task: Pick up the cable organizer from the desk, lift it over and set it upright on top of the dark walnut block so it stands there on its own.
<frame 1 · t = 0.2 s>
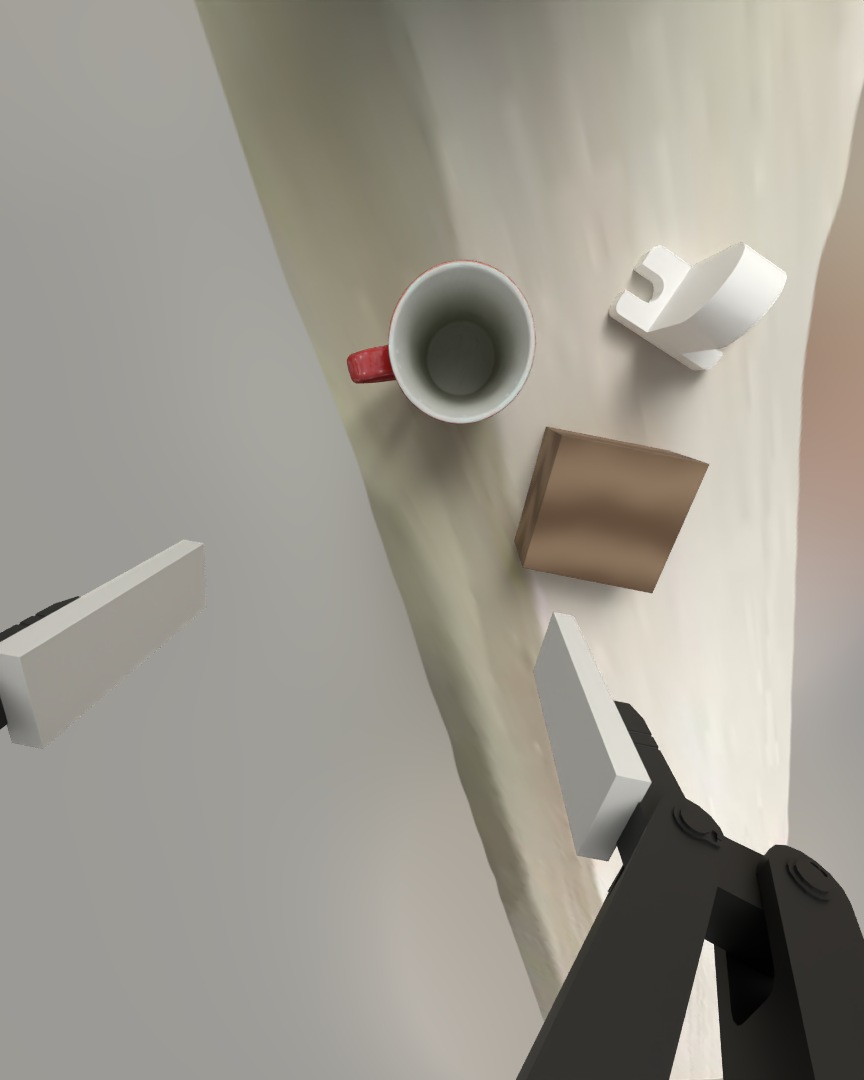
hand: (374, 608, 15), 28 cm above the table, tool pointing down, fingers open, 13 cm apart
walnut block: (587, 497, 41), on the table
cable organizer: (671, 314, 35), on the table
mug: (442, 361, 37), on the table
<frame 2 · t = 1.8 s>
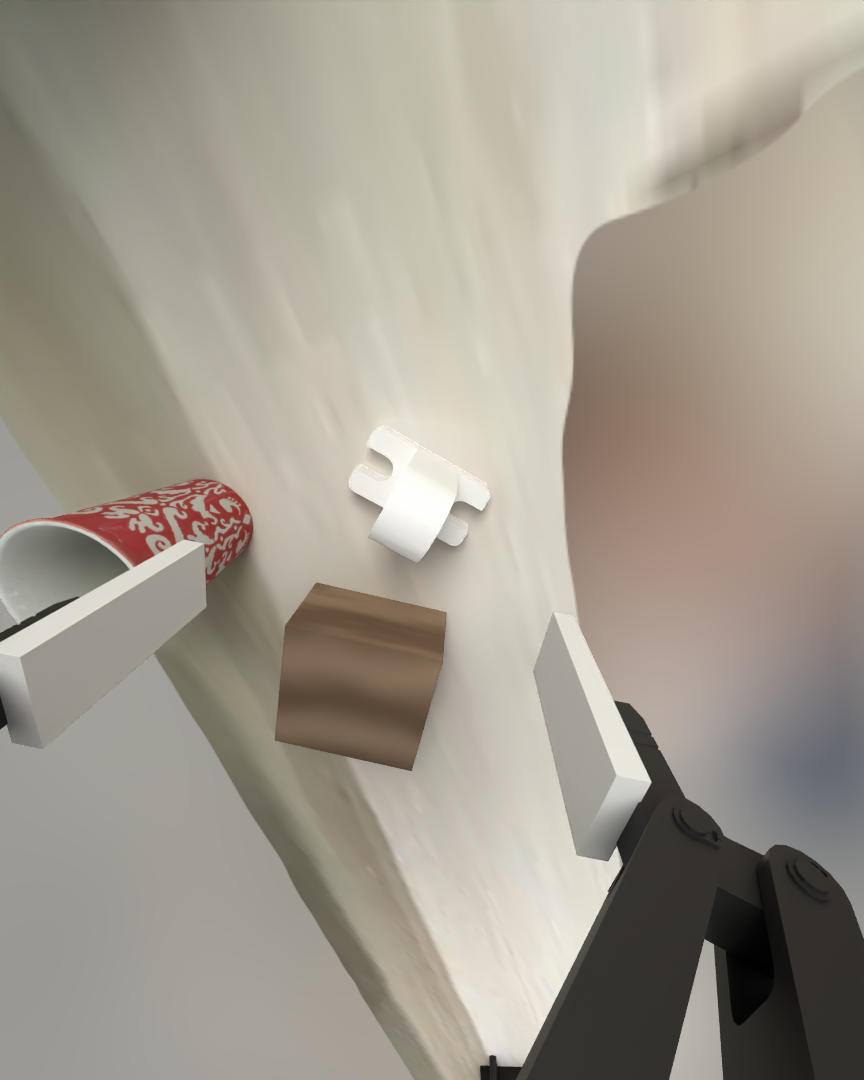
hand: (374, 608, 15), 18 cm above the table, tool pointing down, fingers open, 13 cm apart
walnut block: (371, 649, 39), on the table
cable organizer: (421, 483, 32), on the table
mug: (195, 519, 35), on the table
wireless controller: (513, 1076, 72), on the table
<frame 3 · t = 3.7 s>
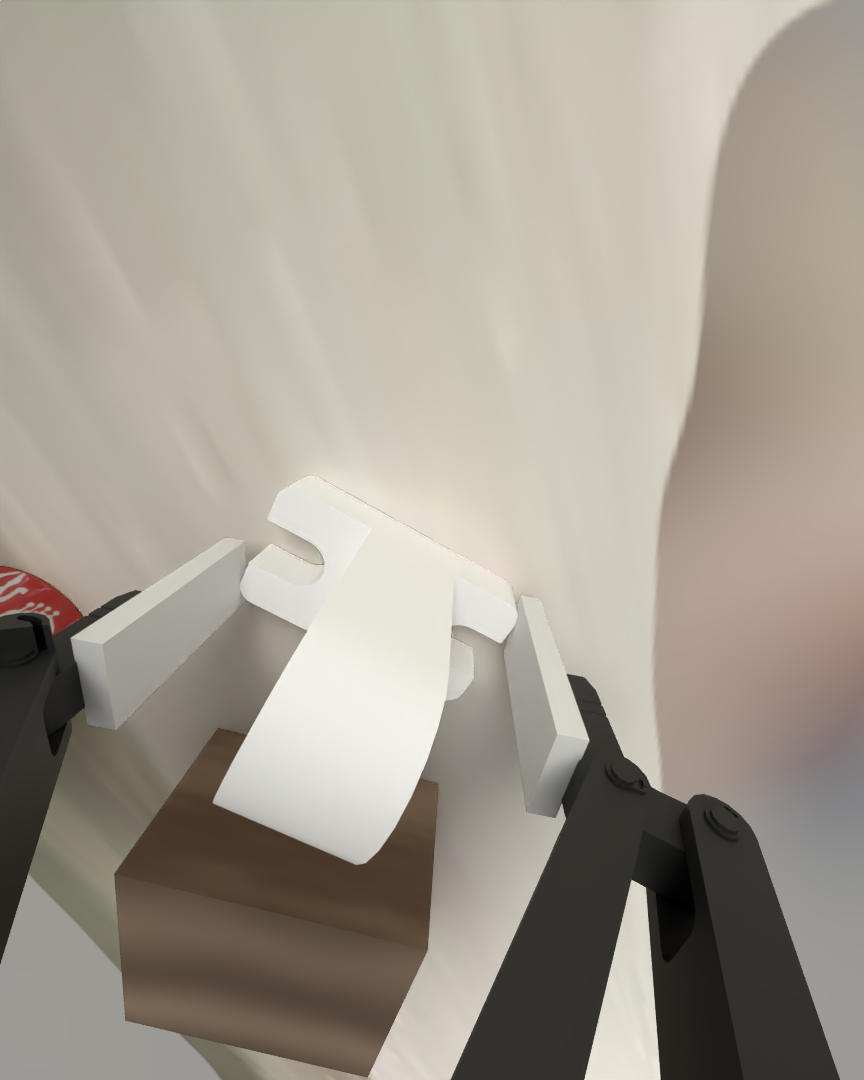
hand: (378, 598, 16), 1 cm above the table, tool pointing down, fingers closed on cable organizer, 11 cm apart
walnut block: (314, 823, 24), on the table
cable organizer: (386, 578, 17), on the table, touching gripper
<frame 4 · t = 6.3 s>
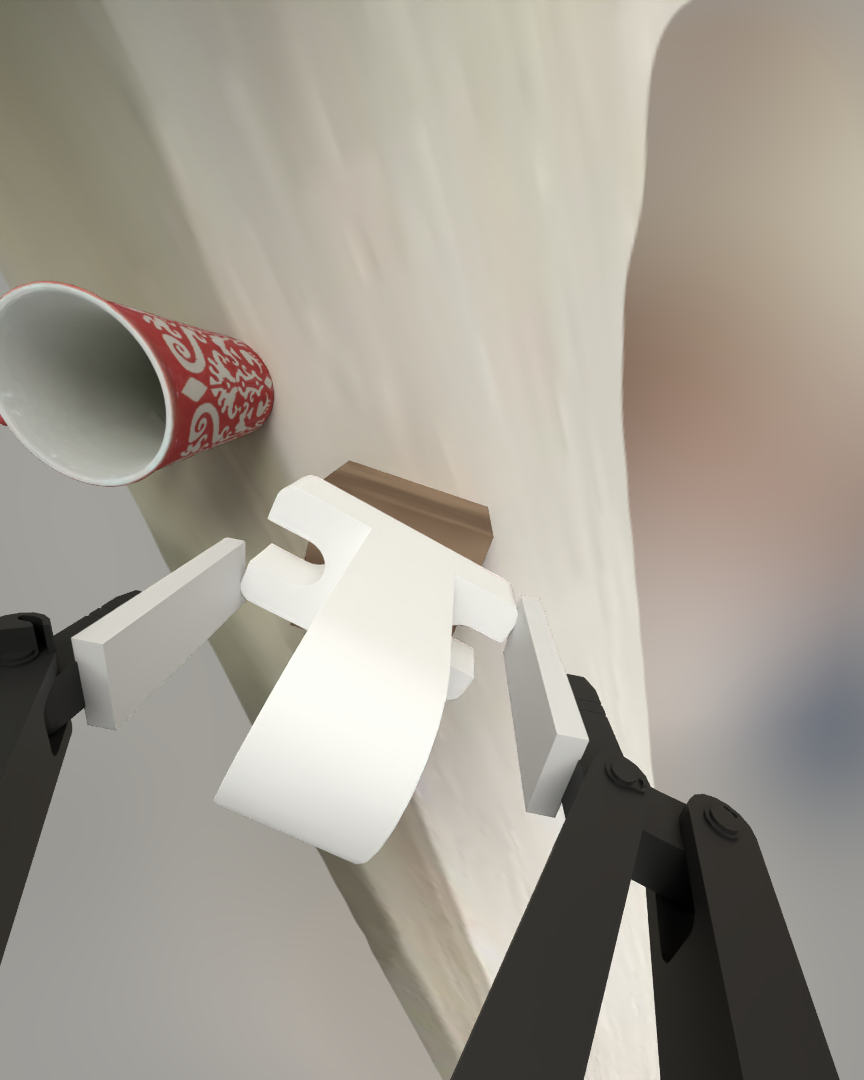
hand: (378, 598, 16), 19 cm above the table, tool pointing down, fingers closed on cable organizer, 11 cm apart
walnut block: (399, 546, 36), on the table
cable organizer: (386, 577, 17), point 17 cm above the table, touching gripper
mug: (210, 388, 32), on the table
when the fingers open (10 cm above the table, at t = 9.2 s): cable organizer drops 2 cm, resting on walnut block.
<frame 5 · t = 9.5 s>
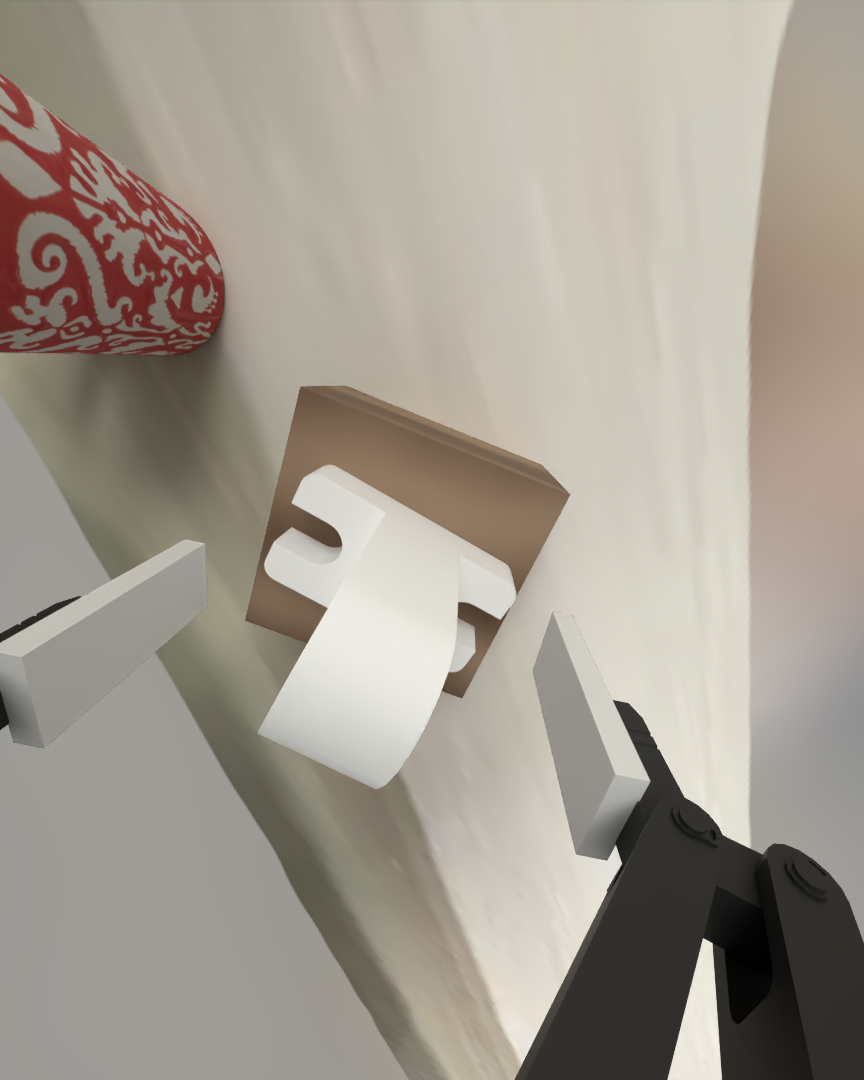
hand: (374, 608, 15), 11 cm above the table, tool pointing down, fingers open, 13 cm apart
walnut block: (410, 517, 25), on the table, touching cable organizer
cable organizer: (396, 560, 19), point 6 cm above the table, touching walnut block
mug: (132, 283, 22), on the table
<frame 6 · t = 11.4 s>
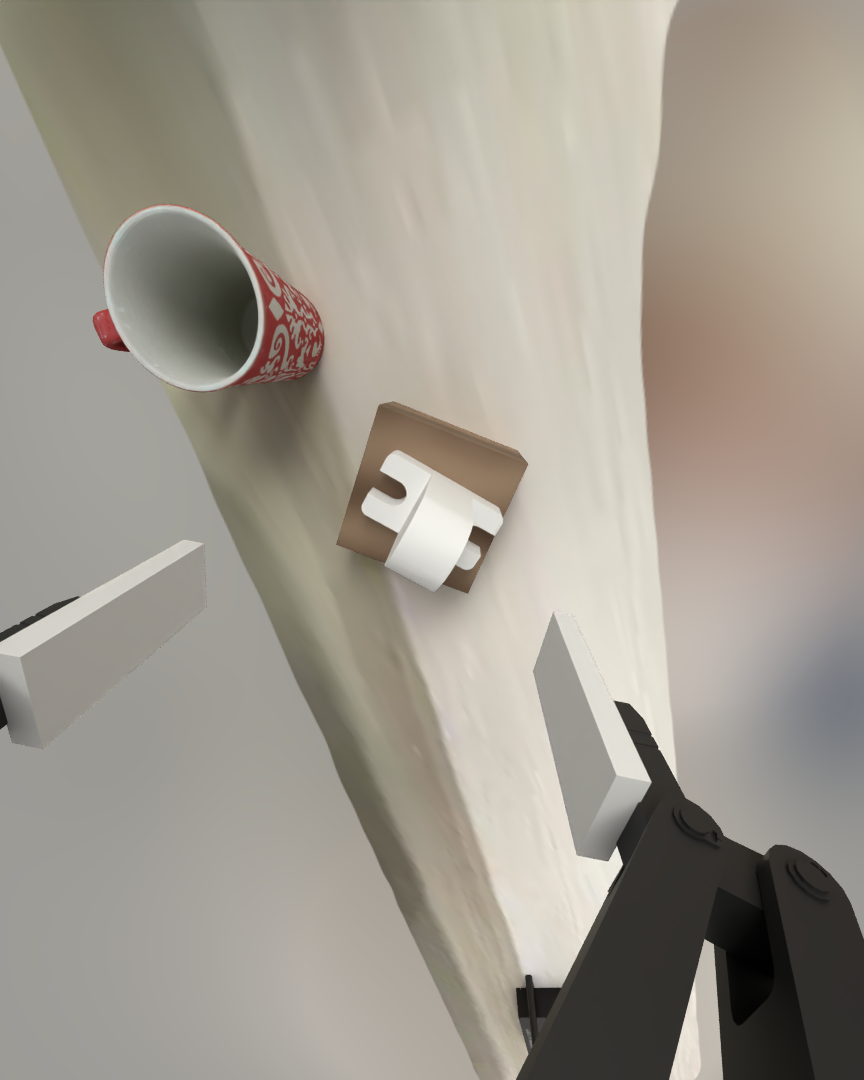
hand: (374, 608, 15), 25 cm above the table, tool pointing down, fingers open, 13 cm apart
walnut block: (433, 486, 39), on the table, touching cable organizer
cable organizer: (433, 506, 32), point 6 cm above the table, touching walnut block
mug: (266, 336, 35), on the table
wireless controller: (550, 1001, 70), on the table
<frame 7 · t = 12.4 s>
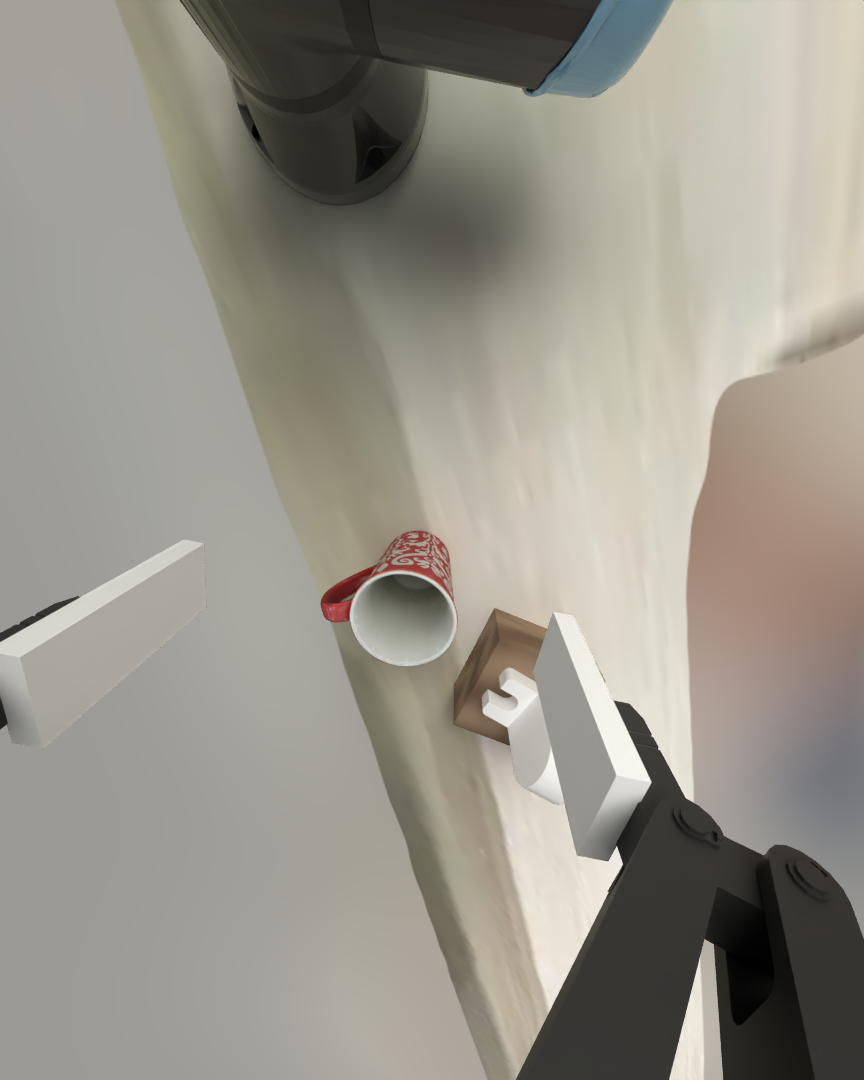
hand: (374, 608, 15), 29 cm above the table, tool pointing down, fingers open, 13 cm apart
walnut block: (518, 663, 50), on the table, touching cable organizer
cable organizer: (531, 703, 44), point 6 cm above the table, touching walnut block
mug: (403, 559, 46), on the table
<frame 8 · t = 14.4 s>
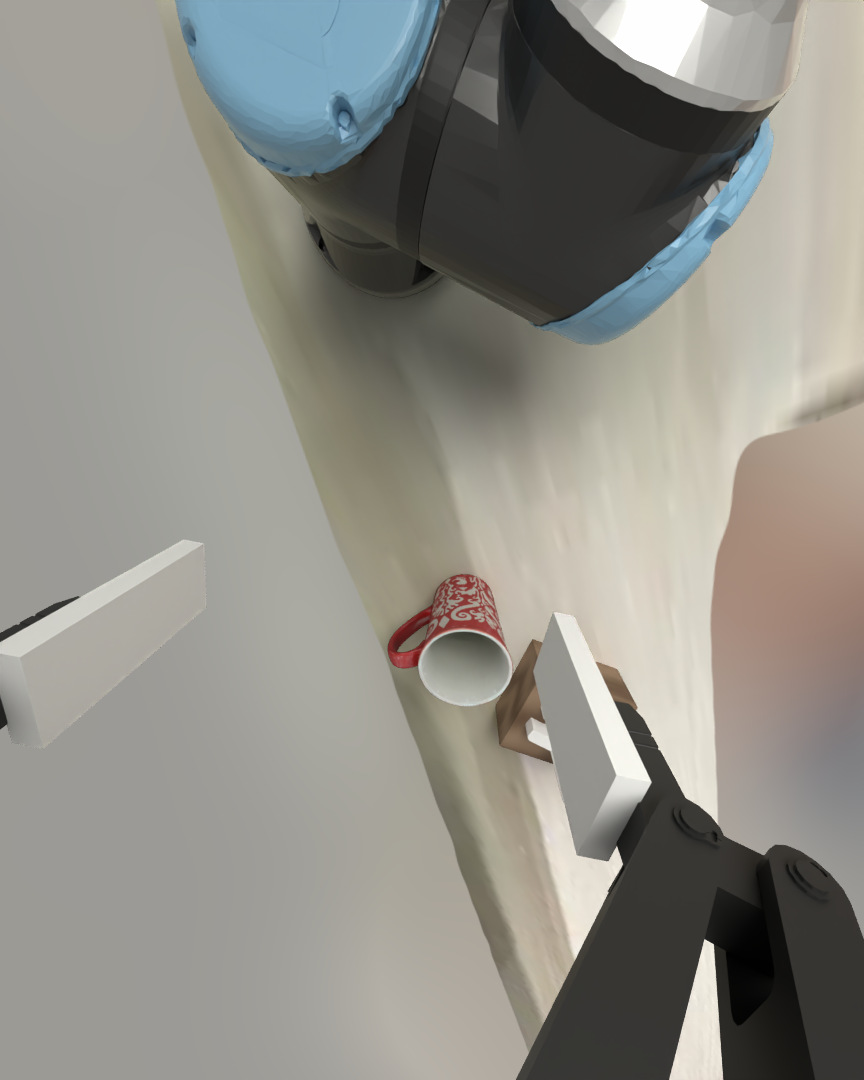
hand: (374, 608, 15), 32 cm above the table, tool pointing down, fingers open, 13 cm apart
walnut block: (553, 686, 55), on the table, touching cable organizer
cable organizer: (570, 727, 49), point 6 cm above the table, touching walnut block
mug: (450, 598, 51), on the table
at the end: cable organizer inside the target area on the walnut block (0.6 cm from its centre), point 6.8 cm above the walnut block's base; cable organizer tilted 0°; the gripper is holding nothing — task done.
